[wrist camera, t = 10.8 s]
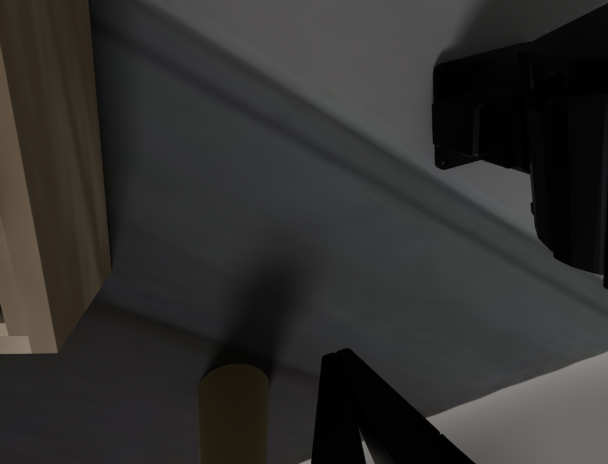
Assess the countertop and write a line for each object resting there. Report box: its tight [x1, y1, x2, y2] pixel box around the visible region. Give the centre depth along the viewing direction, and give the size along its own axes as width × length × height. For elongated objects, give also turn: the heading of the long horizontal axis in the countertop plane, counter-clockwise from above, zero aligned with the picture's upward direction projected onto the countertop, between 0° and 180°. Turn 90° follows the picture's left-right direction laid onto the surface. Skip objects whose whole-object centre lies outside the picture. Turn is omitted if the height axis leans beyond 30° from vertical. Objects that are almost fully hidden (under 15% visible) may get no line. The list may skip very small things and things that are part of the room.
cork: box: [198, 364, 270, 464], centre depth 22 cm, size 6×6×11 cm
